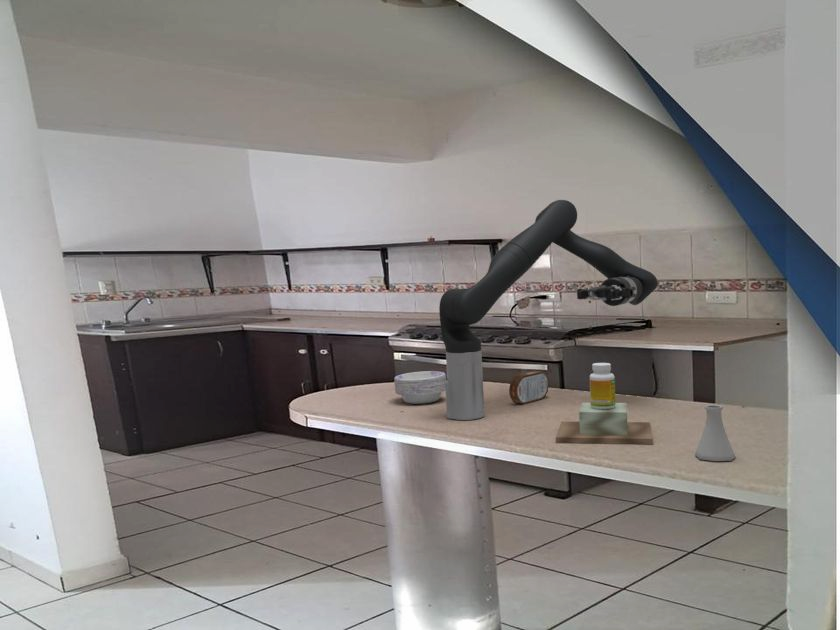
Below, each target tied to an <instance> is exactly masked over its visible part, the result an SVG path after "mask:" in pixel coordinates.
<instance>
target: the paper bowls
mask: <svg viewBox="0 0 840 630" xmlns="http://www.w3.org/2000/svg"><path fill="white" fill-rule="evenodd" d="M393 378H394V390H395V394H397V395H400V396H401V398H402V400H403V401H404V402H405V403H407V404H412V405H413V404H414V405H424V404H430V403H431V404H432V403H434V402H437V401H438V400H440V397H441V394H442V393H443V392H444V391H445V392H446V388H445V382H446V381H447V373H445V372H443V371H436V370H428V371H427V370H426V371H425V370H424V371H413V372H406V373H403V374H402V373H401V374H399V375H395V377H393Z"/></svg>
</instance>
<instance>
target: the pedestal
mask: <svg viewBox="0 0 840 630" xmlns="http://www.w3.org/2000/svg"><path fill="white" fill-rule="evenodd" d="M615 403H616V406H615V408H612V409H595V408H592V407H591V402H581V403H580V407H579V411H578V418H579V419H578V420H579V421H570V420H569V421H564V420H563V421H560V424H559V427H558V429H557V433H556V436H555V443H557V444H559V443H560V444H600V445H601V444H604V445H605V444H608V445H609V444H610V445H611V444H612V445H616V444H617V445H654V438H653V432H652V426H651V425H652V424H651V422H649V421H639V422H638V421H628V403H627V402H615Z"/></svg>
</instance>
